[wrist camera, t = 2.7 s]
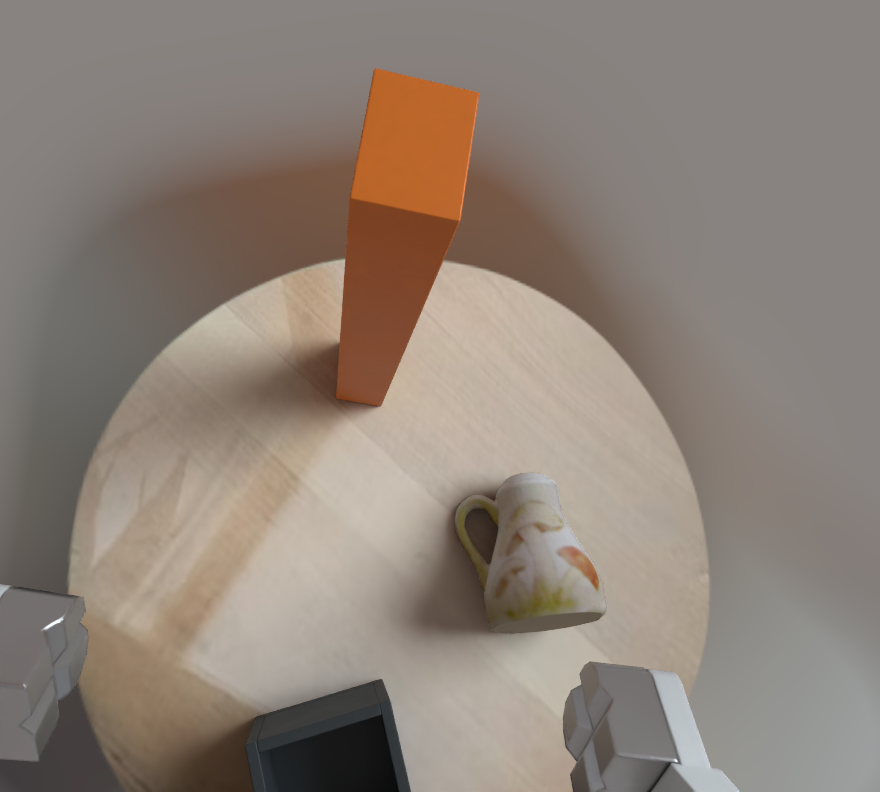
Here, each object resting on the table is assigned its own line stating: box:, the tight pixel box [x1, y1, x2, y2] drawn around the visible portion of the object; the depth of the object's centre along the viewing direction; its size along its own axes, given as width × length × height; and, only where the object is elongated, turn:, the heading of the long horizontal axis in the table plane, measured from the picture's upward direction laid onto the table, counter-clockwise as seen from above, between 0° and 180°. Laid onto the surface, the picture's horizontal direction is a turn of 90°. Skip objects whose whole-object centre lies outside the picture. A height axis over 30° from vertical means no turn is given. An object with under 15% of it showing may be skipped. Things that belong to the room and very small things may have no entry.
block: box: [336, 69, 479, 406], centre depth 32 cm, size 3×4×28 cm
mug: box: [455, 473, 607, 633], centre depth 42 cm, size 8×10×10 cm
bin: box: [245, 679, 411, 792], centre depth 38 cm, size 8×8×6 cm
